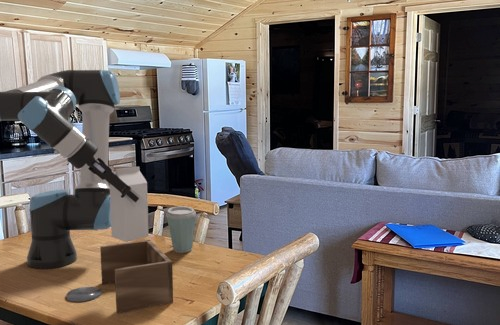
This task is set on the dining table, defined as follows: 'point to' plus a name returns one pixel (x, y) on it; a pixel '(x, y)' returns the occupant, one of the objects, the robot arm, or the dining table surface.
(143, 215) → the milk carton
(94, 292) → the disc
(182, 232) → the disposable coffee cup
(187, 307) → the dining table surface
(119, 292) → the walnut cubby
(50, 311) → the dining table surface
